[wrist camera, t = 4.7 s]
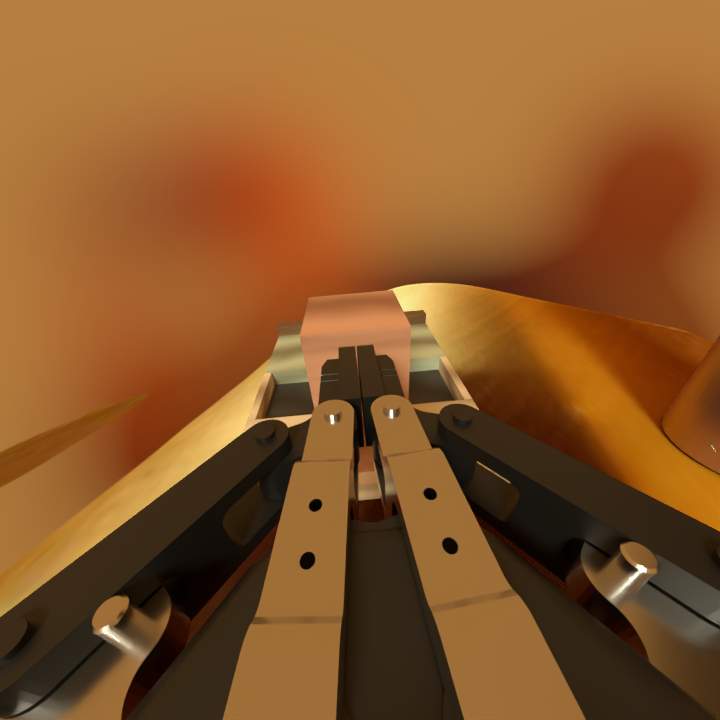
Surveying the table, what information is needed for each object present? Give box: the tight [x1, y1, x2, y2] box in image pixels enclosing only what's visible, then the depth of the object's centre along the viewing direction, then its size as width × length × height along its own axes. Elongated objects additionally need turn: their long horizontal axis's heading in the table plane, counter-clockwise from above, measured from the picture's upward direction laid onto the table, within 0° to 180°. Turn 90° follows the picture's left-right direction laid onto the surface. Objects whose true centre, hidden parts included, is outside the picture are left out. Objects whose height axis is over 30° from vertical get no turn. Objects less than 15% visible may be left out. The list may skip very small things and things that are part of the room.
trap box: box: [242, 310, 511, 500], centre depth 32 cm, size 27×22×4 cm
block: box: [300, 290, 411, 473], centre depth 21 cm, size 6×6×12 cm
